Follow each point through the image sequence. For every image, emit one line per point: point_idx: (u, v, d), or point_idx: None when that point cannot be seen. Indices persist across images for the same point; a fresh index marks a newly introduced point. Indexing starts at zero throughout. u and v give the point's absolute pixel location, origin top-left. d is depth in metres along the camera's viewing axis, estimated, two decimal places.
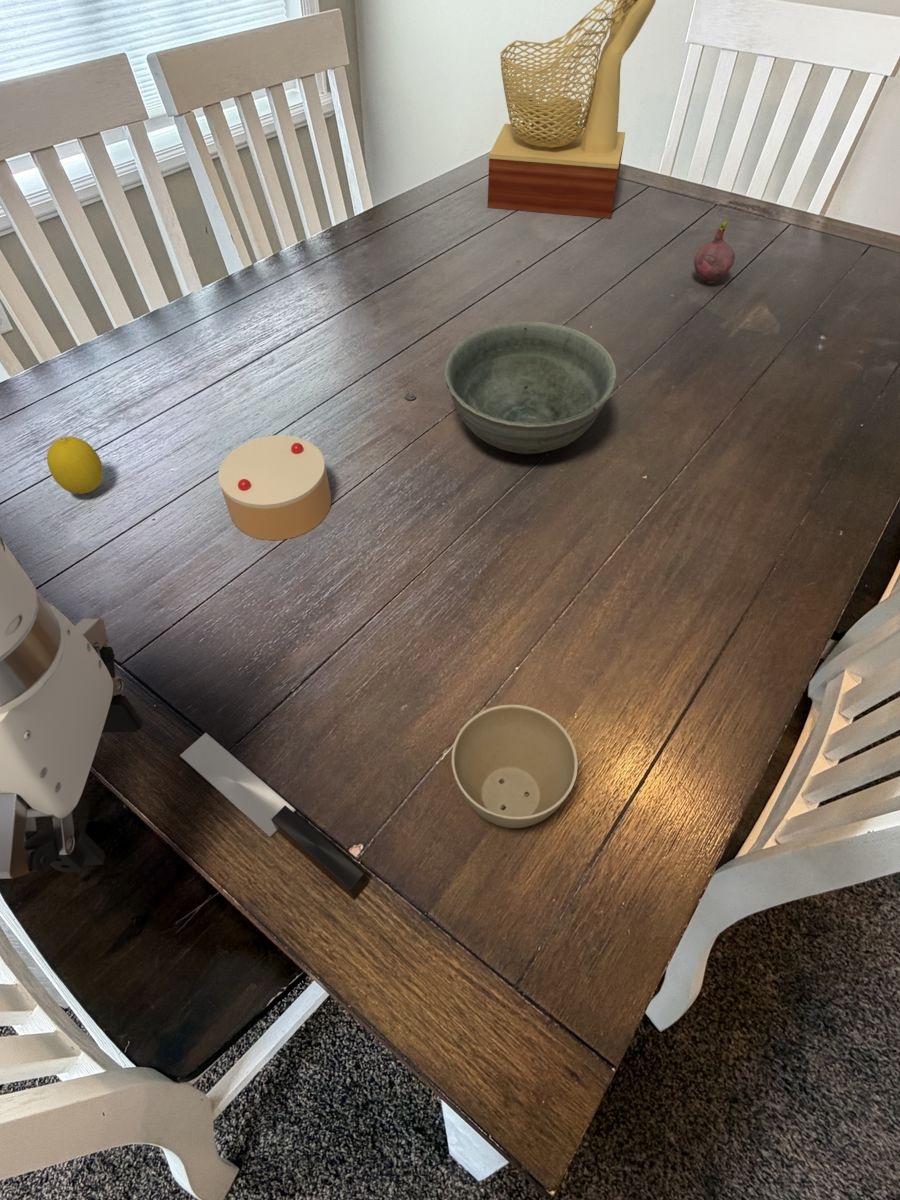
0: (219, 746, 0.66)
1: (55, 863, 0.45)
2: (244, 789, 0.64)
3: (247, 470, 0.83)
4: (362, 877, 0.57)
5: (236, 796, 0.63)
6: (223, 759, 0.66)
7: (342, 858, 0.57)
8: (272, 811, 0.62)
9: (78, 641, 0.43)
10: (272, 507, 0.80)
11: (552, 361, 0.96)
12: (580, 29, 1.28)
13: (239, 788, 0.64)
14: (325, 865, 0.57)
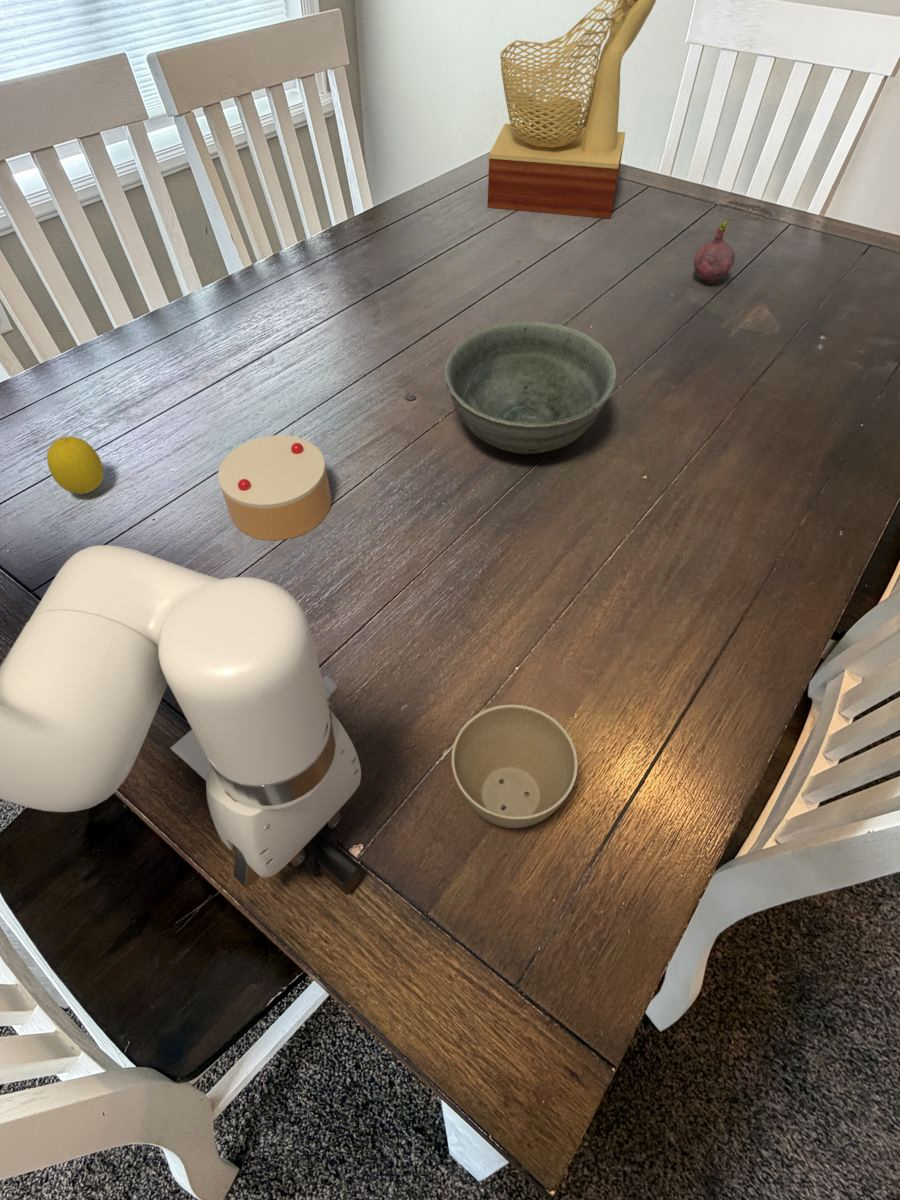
0: None
1: None
2: None
3: (247, 470, 0.83)
4: (355, 872, 0.56)
5: None
6: None
7: (335, 853, 0.57)
8: None
9: (347, 757, 0.50)
10: (272, 507, 0.80)
11: (552, 361, 0.96)
12: (580, 29, 1.28)
13: None
14: (317, 859, 0.56)
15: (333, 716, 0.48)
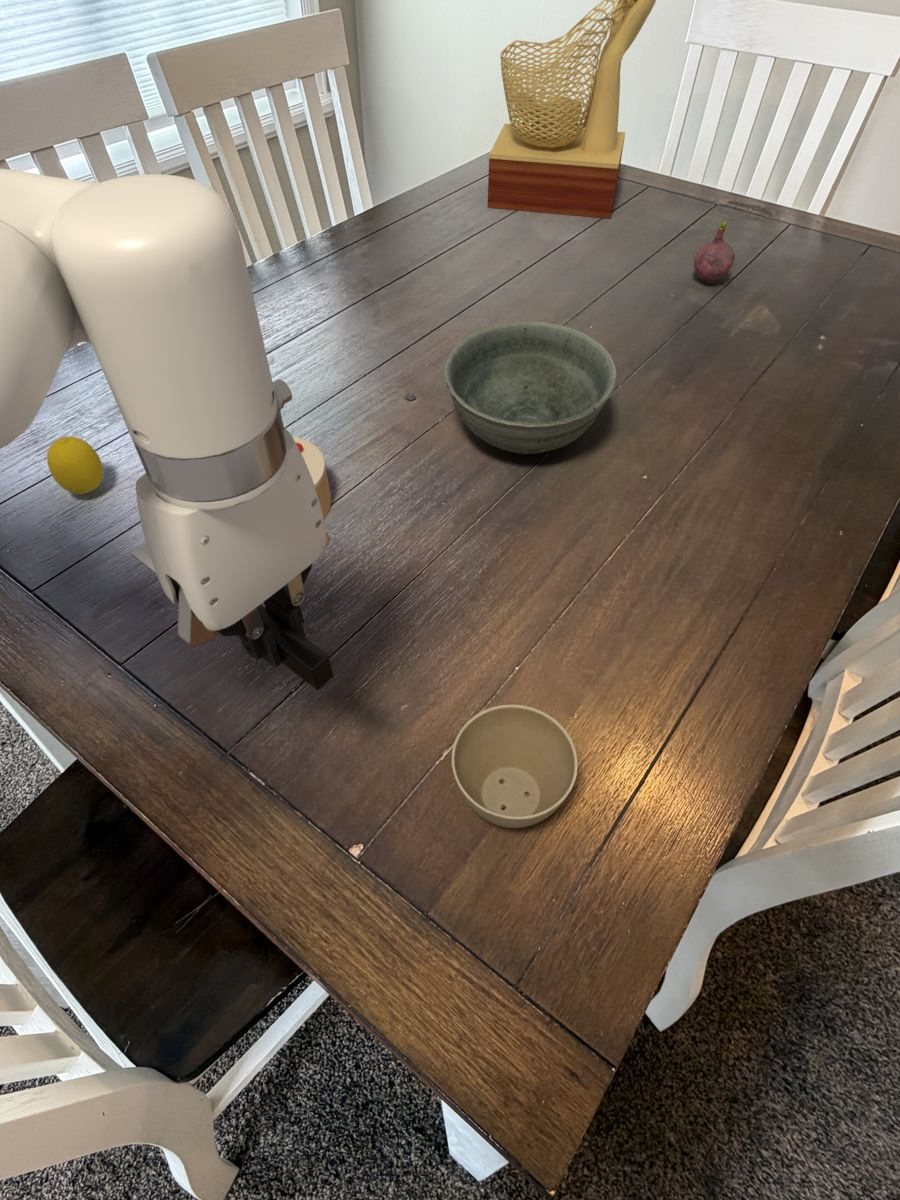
0: None
1: (243, 641, 0.50)
2: None
3: None
4: (326, 659, 0.49)
5: None
6: None
7: (304, 641, 0.50)
8: None
9: (304, 491, 0.43)
10: None
11: (552, 361, 0.96)
12: (580, 29, 1.28)
13: None
14: (284, 646, 0.50)
15: (287, 432, 0.42)
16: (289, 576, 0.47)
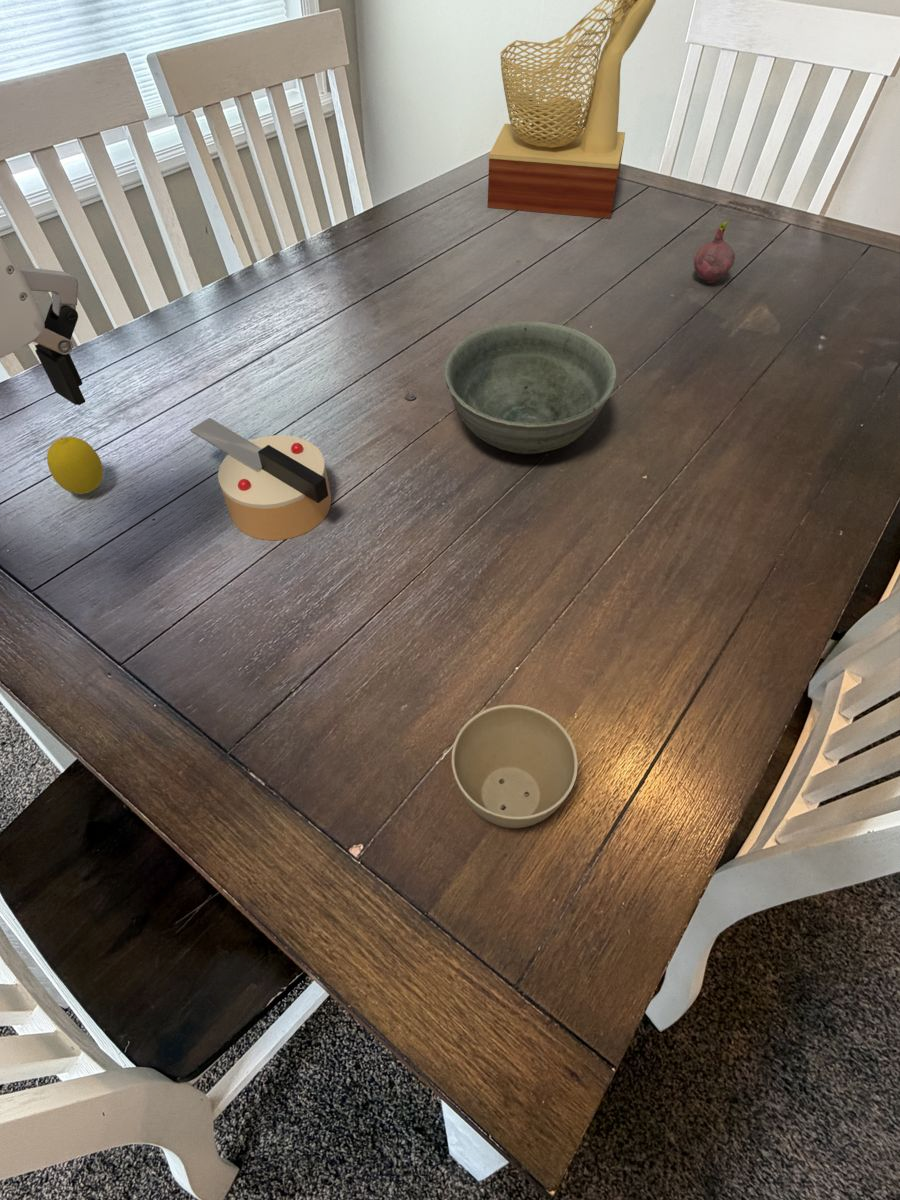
0: (219, 424, 0.87)
1: None
2: (238, 447, 0.85)
3: (247, 470, 0.83)
4: (323, 480, 0.78)
5: (232, 450, 0.84)
6: (222, 431, 0.87)
7: (309, 470, 0.79)
8: (259, 458, 0.83)
9: None
10: (272, 507, 0.80)
11: (552, 361, 0.96)
12: (580, 29, 1.28)
13: (235, 446, 0.85)
14: (296, 473, 0.78)
15: None
16: None
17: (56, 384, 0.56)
